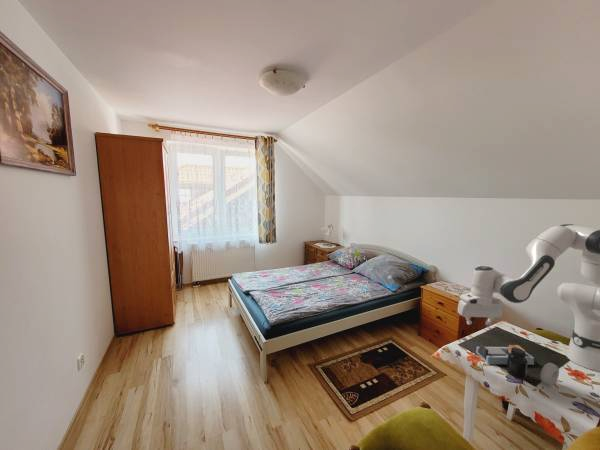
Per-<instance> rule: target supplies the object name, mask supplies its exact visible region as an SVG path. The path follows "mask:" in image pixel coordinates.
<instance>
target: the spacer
mask: <svg viewBox="0 0 600 450" xmlns="http://www.w3.org/2000/svg"><path fill="white" fill-rule="evenodd" d="M508 347H509V349H508V354H509V353H510V352H511V349H512V348H513V347H515V348H519V349H522V350H523V351H525V352H526V350H525V349H524V348H522V346H520V345H518V344H508Z"/></svg>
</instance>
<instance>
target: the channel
mask: <svg viewBox="0 0 600 450" xmlns="http://www.w3.org/2000/svg"><path fill="white" fill-rule="evenodd" d="M484 347H485V348H500V349H501V350H502V351H504V352H505V353H506V356H486V359H485V358H484V357H483V356H482V355H480V354H479V346H476V348H475V349H476V350H475V354H477V355H478V356H479V357H480V358H481V359H482V360H483V361H484V362H486V363H487V365H507V361H508V349H509V346H484ZM525 357H526V359H527V361H528V363H527V366H528V365H531V366H532V365H533V366H534V365H535V363H534V361H535V357H534V356H532V355H531V354H529V352H527V351H525Z"/></svg>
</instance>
